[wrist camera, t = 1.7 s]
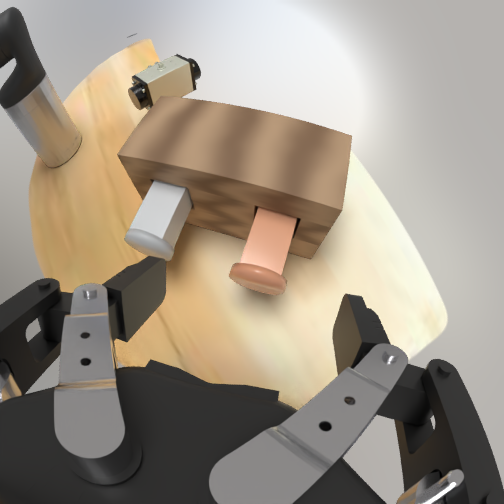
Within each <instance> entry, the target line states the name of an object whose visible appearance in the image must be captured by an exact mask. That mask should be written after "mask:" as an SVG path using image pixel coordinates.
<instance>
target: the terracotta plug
mask: <svg viewBox="0 0 504 504" xmlns="http://www.w3.org/2000/svg"><path fill="white" fill-rule="evenodd" d="M296 220H297V217H294V216H290V215H287V214H284V213H280V212H277V211H273V210H270V209H266V208H263V207H259V208H258V210H257V213H256V216H255V219H254V222H253V225H252V228H251V231H250V234H249V237H248V239H247V242H246V245H245V248H244V251H243V254H242V257H241V260H240V263H235V264H233V265H232V268H231V271H230V274H229V277H230V279H231V280H233V281H234V282H236V283H237V284H239V285H241V286H244V287H246V288H249V289H251V290H254V291H258V292H262V293H266V294H274V295H279V294H283V293H284V291H285V287H286V284H287V280H286V279H285V278H284V277H283V276H282V272H283V268H284V264H285V261H286V257H287V254H288V250H289V246H290V243H291V239H292V235H293V232H294V228H295V224H296Z"/></svg>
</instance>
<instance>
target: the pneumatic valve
mask: <svg viewBox="0 0 504 504" xmlns="http://www.w3.org/2000/svg"><path fill="white" fill-rule="evenodd" d="M200 76H201V71H200V68H199V66H198V64H197V63H196V61H195V60H193V59H191V58H189V59H187V58H185V57H182V56H180V55H178V54H177V55H174V56H172V57H170V58H168V59H166V60H164V61H161V62H159V63H158V62H156V63H155V65H153V66H151V65H150V66H148V68H147V69H145V70H143V71H141V72H140V73H138V74H136V75H134V76H132V80H133V82H132V85H133V87H131V88H129V89H128V93H129V96H130V98H131V100H132V102H133V104H134V105H135V106H136V108H137V109H139V110H142V109H143V108H146V109H147V110H150V109H151V107H152V106H153V105H154V104H155V103H156V101H157V100H158V99H159V98H160V96H168V97H178V98H182V97H183V96H185V95H187V94H188V93H190V92H192V91H194V90H196V84H197V83H196V82H195V80H197V79H198V78H200Z"/></svg>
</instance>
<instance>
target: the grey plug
mask: <svg viewBox="0 0 504 504" xmlns="http://www.w3.org/2000/svg"><path fill="white" fill-rule="evenodd" d="M192 206H193V202H192V199H191V195H190V192H189V189H188V188H187V187H183V186H178V185H174V184H170V183H166V182H162V181H157V180H154V182H153V184H152V186H151V187H150V189H149V191H148V193H147V195H146V197H145V199H144V200H143V202H142V204H141V206H140V208H139V210H138V212H137V214H136V216H135V218H134V220H133V222H132V224H131V226H130V228H129V230H128V232H127V234H126V236H125V238H124V240H125V241H126V242H127V243H128V244H129V245H130V246H131V247H133V248H134V249H136V250H138V251H139V252H141V253H143V254H145V255H148V256H153V257H158V258H163V259H165V261H171V259H172V256H173V254H174V252H175V250H174V246H175V244H176V242H177V239H178V237H179V235H180V232H181V230H182V228H183V226H184V223H185V221H186V219H187V217H188V214H189V212H190V210H191V208H192Z"/></svg>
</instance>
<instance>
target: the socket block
mask: <svg viewBox="0 0 504 504" xmlns="http://www.w3.org/2000/svg"><path fill="white" fill-rule="evenodd" d="M351 140H352V136H351V135H347V134H345V133H342V132H339V131H336V130H332V129H329V128H326V127H322V126H319V125H316V124H313V123H309V122H306V121H302V120H298V119H294V118H291V117H286V116H283V115H278V114H274V113H270V112H265V111H261V110H255V109H251V108H246V107H240V106H234V105H230V104H224V103H217V102H211V101H203V100H196V99H188V98H178V97H168V96H160V98H159V99H158V100H157V101H156V103H155V104H154V105H153V106H152V107H151V109H150V110H149V111H148V113H147V114H146V115H145V116H144V118H143V119H142V120H141V122H140V123H139V124H138V126H137V127H136V128H135V130H134V131H133V132H132V134H131V135H130V137H129V138H128V139H127V141H126V142H125V144H124V145H123V147H122V148H121V150H120V151H119V153H118V154H117V155H118V157H119V159H120V161H121V163H122V164H123V166H124V168H125V170H126V172H127V173H128V175H129V177H130V179H131V180H132V182H133V184H134V186H135V187H136V189H137V191H138V193H139V194H140V196H141V198H142V199H143V200H144V199H145V197H146V195H147V193H148V191H149V189H150V187H151V186H152V184H153V182H154V180H157V181H162V182H166V183H170V184H174V185H178V186H183V187H187V188H188V189H189V192H190V195H191V199H192V202H193V206H192V208H191V210H190V212H189V214H188V217H187V219H186V221H185V223H189V224H192V225H196V226H199V227H203V228H206V229H210V230H213V231H217V232H220V233H223V234H227V235H230V236H234V237H237V238H241V239H244V240H247V239H248V237H249V234H250V231H251V228H252V225H253V222H254V219H255V216H256V213H257V210H258V208H259V207H263V208H266V209H270V210H273V211H277V212H280V213H284V214H287V215H290V216H294V217H297V220H296V224H295V228H294V232H293V235H292V239H291V243H290V246H289V250H288V253H291V254H295V255H298V256H301V257H305V258H308V259H311V258H312V256H313V255H314V253H315V252H316V250H317V249H318V247H319V246H320V244H321V243H322V241H323V240H324V238H325V236H326V235H327V233H328V232H329V230H330V229H331V227H332V226H333V224H334V222H335V221H336V219H337V218H338V216H339V215H340V213H341V211H342V208H343V202H344V195H345V188H346V181H347V174H348V167H349V159H350V150H351Z"/></svg>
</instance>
